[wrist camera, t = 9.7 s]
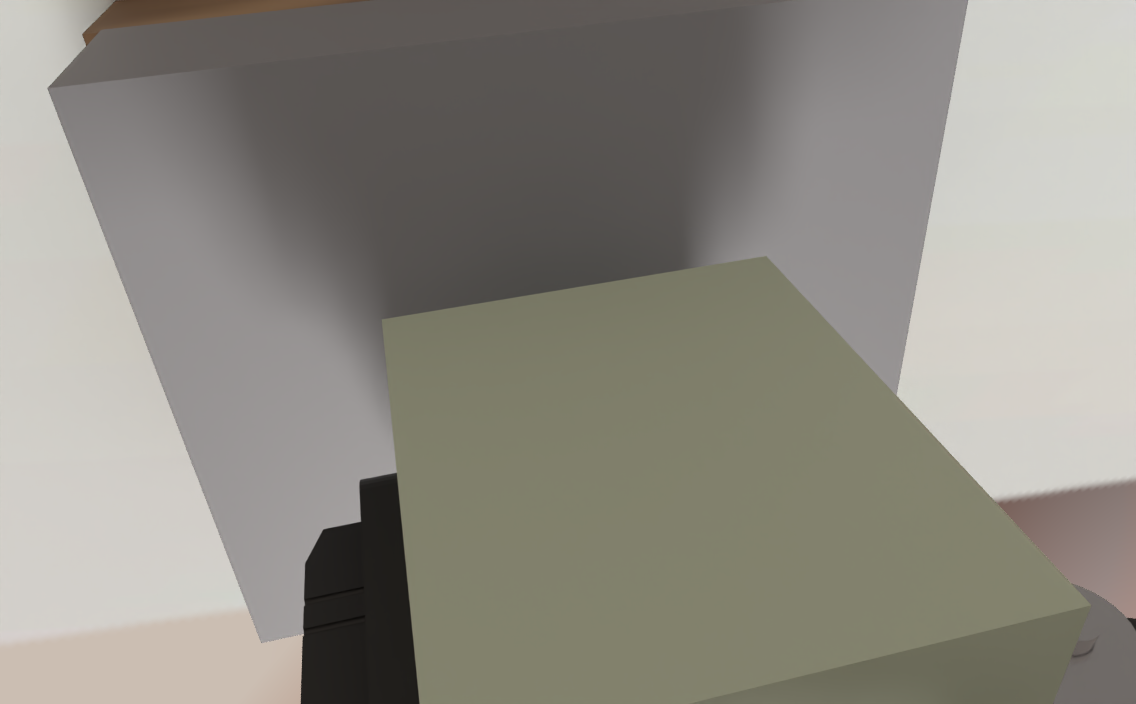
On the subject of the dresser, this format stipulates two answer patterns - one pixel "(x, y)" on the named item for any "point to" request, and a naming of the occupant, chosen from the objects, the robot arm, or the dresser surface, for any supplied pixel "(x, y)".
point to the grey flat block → (476, 200)
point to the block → (697, 511)
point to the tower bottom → (188, 11)
